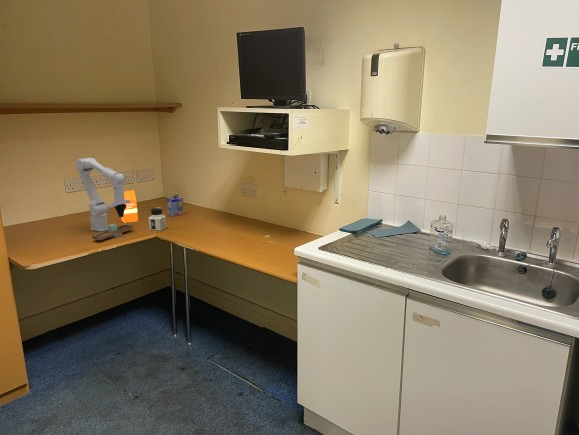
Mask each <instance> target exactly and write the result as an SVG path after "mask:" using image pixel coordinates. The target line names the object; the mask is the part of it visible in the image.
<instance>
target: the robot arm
mask: <svg viewBox="0 0 579 435" xmlns="http://www.w3.org/2000/svg"><path fill="white" fill-rule="evenodd" d="M74 165H75V167H76V170H77V173H78V175H79V178H80V180H81V182H82V185H83V186H84V189H85V192H86V193H87V196H88V198H89V200H90V203H89V204H88V208H89V212H90V219H89V222H90V223H89V224H90V228H89V230H90V231H95V232H104V231H107V230H108V217H107V215H108V213H109V211H110V208H111V209H112V208H114V209H115V211H116V212H117V215H118V217H119V218H121V217H123V216H124V211H125V208H126V205H125V204H126V203H130V200H129V199H127V200H125V196H124V191H125V187H124V186H125V185H124V183H125V182H126V177H125V175H124V173H123V172H122V173H121V172H120V173H118V172H117V171H115V170H113V169H112V168H111V167H104V166H103V165H102V164H100V163H99V162H98V161H97V160H96V159H95V158H93V157H86V158H78V159H77V160H76V161H75V164H74ZM93 170H96V171H97V172H98V173H99V172H100V173H101V174H102V176H103V177H104V178H105V179H107V180H109V181H110V183H111V185H112V188H113V198H114V202H112V203H109V205H108V204H107V203H106V201H105V200H104V199H102V198H101V197H100V195H99V193H98V190H97V188H96V186H95V184H94V182H93V179H92V177H91V172H92V171H93Z"/></svg>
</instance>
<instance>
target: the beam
mask: <svg viewBox="0 0 579 435" xmlns="http://www.w3.org/2000/svg"><path fill="white" fill-rule="evenodd" d="M133 229H135V228H134V225H133V224H127V223H124V224H122V225H119V226H117V230H115V231H113V232H108V229H107V230H104V231H100V232H99V233H95V234H92V235H91V239H92V240H96V241H97V240H98V241H102V240H105V239H108V238H114V239H117V238H119V237H122V236H123V233H125V232H128V231H131V230H133Z"/></svg>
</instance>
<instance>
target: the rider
mask: <svg viewBox="0 0 579 435" xmlns="http://www.w3.org/2000/svg"><path fill="white" fill-rule="evenodd" d="M107 226H108V229H107V230H108V232H113V231H115V230H117V227H118V224H116V223H112V224H107Z"/></svg>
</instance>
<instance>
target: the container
mask: <svg viewBox="0 0 579 435" xmlns="http://www.w3.org/2000/svg"><path fill="white" fill-rule="evenodd" d="M150 214H151V215H150V217H148V229H149V230H150V231H162V230H164V229H166V228H167V219H166V215H163V209H162V208H161V207H152V208H151V209H150Z"/></svg>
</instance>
